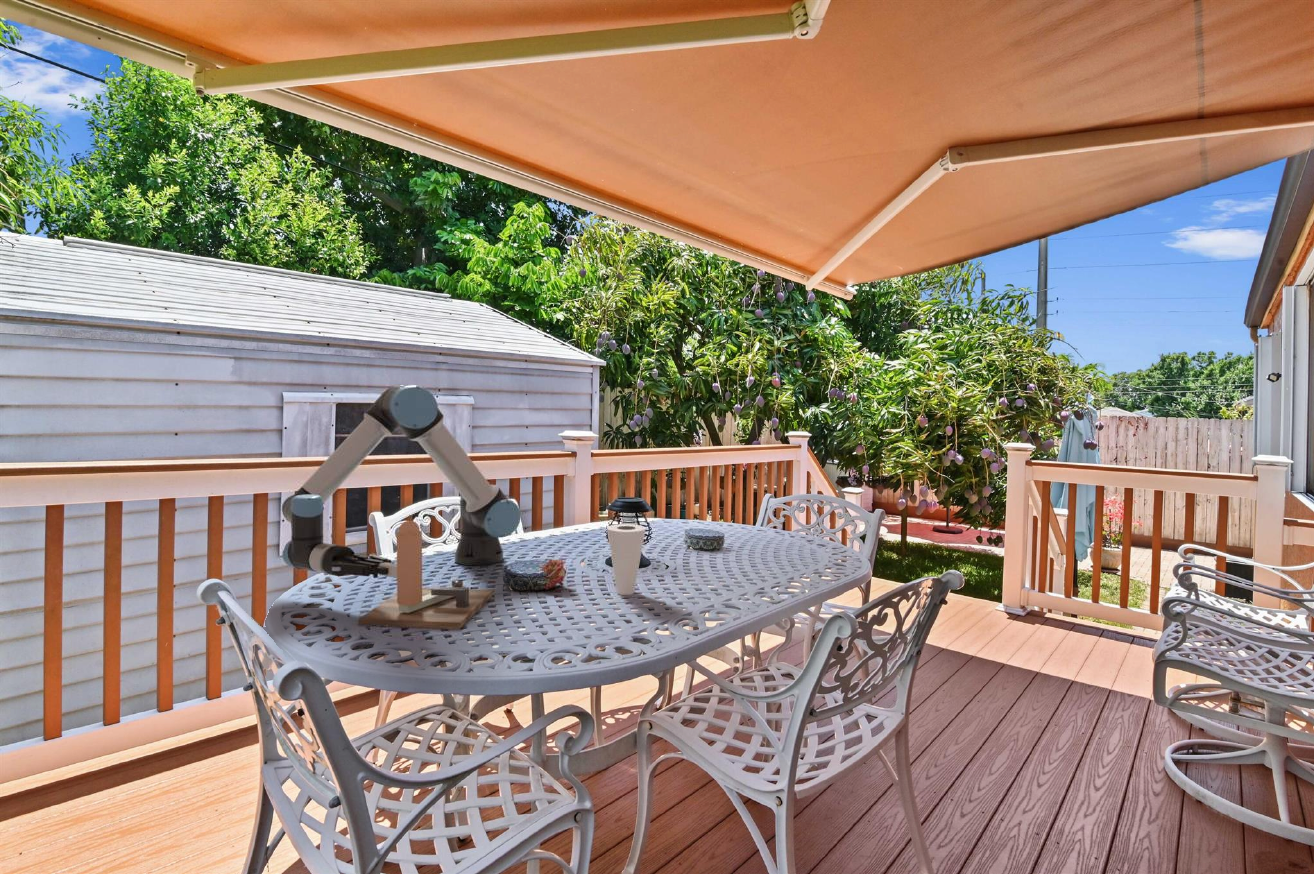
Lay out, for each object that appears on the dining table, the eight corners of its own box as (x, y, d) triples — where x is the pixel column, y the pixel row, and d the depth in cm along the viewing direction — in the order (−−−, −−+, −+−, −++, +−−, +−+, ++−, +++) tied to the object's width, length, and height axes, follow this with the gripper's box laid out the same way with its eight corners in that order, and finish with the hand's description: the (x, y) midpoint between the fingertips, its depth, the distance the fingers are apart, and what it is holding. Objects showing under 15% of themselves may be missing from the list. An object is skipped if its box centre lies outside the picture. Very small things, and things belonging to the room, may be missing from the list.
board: (405, 592, 185) (405, 587, 185) (493, 595, 184) (493, 590, 184) (358, 625, 159) (358, 619, 159) (460, 629, 158) (459, 622, 158)
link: (456, 590, 182) (456, 508, 181) (469, 593, 180) (469, 510, 179) (395, 612, 164) (394, 521, 163) (409, 615, 162) (408, 523, 160)
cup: (598, 592, 189) (598, 527, 187) (625, 584, 196) (626, 522, 195) (625, 600, 181) (626, 533, 180) (652, 592, 189) (653, 528, 188)
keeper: (447, 592, 181) (447, 576, 180) (480, 593, 180) (480, 577, 180) (431, 606, 169) (431, 589, 169) (465, 607, 169) (465, 590, 168)
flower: (562, 574, 200) (546, 554, 197) (581, 574, 193) (565, 553, 191) (541, 598, 194) (525, 578, 191) (560, 599, 187) (544, 578, 185)
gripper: (355, 568, 182) (422, 580, 171) (310, 580, 169) (379, 594, 159) (355, 540, 181) (422, 551, 171) (310, 550, 169) (379, 562, 159)
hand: (401, 571), depth 165 cm, fingers closed
